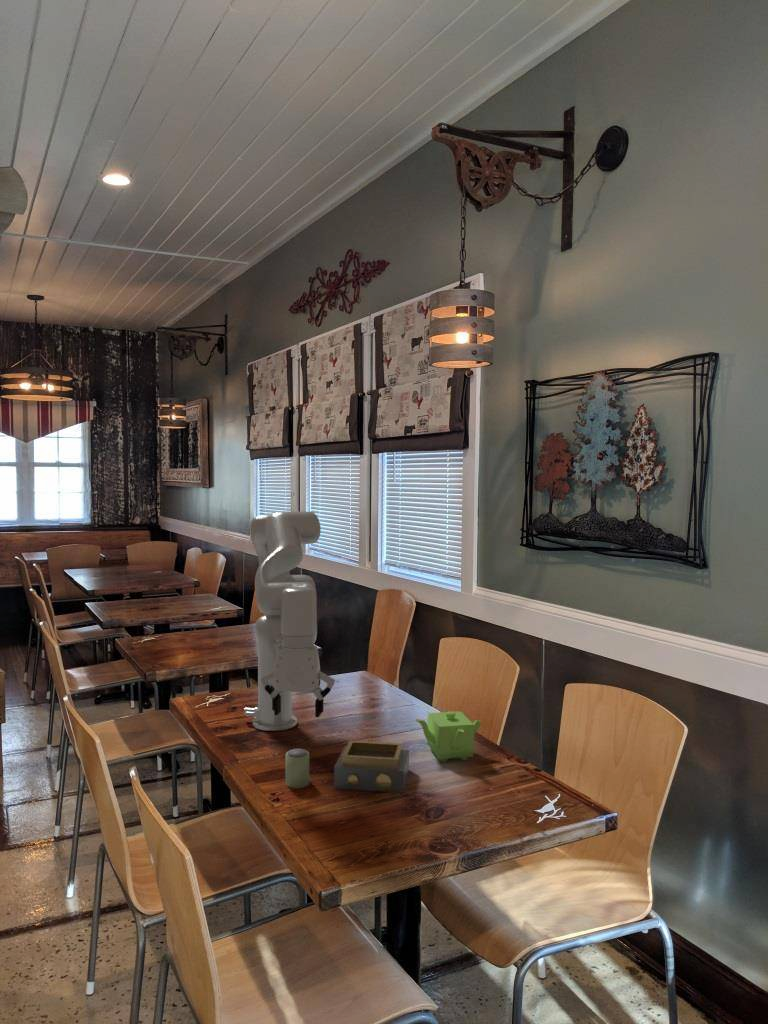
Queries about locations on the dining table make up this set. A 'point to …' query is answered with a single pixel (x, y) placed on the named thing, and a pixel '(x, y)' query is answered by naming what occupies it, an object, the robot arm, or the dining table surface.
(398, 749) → the toy stove
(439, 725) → the kettle
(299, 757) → the pale green cup
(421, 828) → the dining table surface
